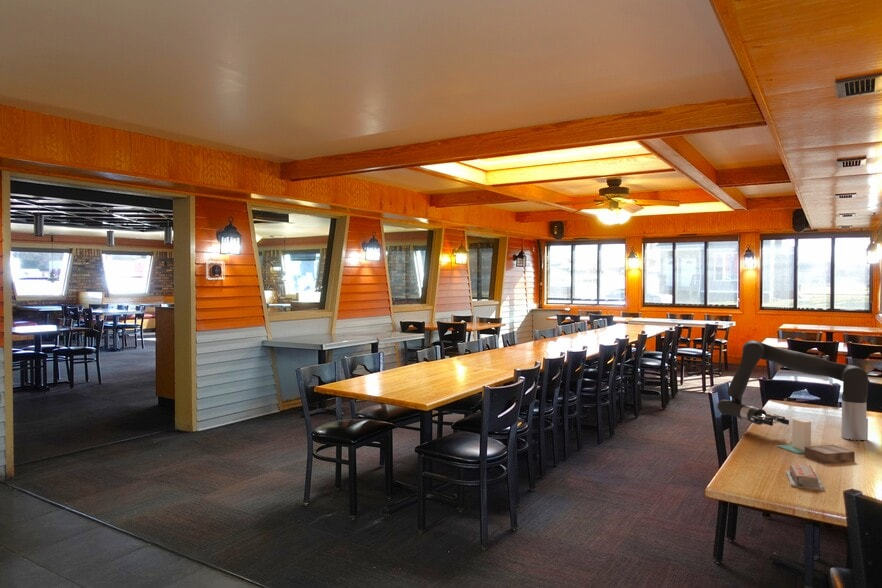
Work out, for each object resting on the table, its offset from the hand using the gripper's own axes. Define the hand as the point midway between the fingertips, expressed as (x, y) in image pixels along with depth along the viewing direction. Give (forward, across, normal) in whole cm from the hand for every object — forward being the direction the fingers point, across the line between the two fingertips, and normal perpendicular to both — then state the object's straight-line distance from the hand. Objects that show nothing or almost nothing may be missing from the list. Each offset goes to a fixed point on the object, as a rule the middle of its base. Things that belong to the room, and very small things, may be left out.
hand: (780, 423), depth 258 cm
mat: (+11, 0, +9) cm, 14 cm away
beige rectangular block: (+11, 0, +8) cm, 14 cm away
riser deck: (+25, 0, +9) cm, 26 cm away
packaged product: (+44, -32, +9) cm, 55 cm away
